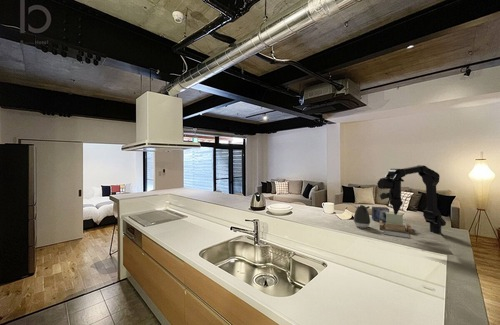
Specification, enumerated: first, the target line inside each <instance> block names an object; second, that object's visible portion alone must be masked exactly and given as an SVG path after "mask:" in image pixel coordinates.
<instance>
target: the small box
mask: <svg viewBox="0 0 500 325" xmlns="http://www.w3.org/2000/svg"><path fill="white" fill-rule="evenodd" d="M386 212H388V213H390V208H388V207H387V206H386V207H385V206H371V220H372V221H374V222H379V220H382V223H386Z"/></svg>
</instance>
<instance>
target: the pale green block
mask: <svg viewBox="0 0 500 325" xmlns="http://www.w3.org/2000/svg"><path fill="white" fill-rule="evenodd" d="M403 217H404V215H403V213H399V212H398V213H397V215H395V214H394V212H389V213H388V212H386V222H385V223H389V224H397V225H404V223H403V222H404V220H403V219H404V218H403Z"/></svg>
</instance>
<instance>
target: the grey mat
mask: <svg viewBox="0 0 500 325" xmlns="http://www.w3.org/2000/svg"><path fill="white" fill-rule="evenodd" d="M383 235H384V236H390V237H396V238H403V239H411V237H410V234H405V233H398V232H390V231H383Z"/></svg>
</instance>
